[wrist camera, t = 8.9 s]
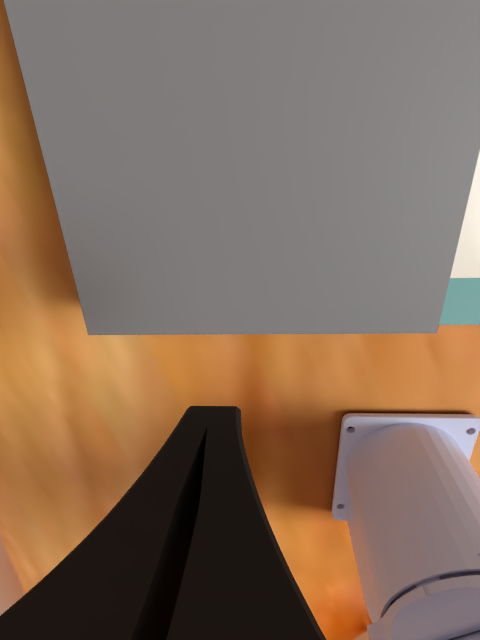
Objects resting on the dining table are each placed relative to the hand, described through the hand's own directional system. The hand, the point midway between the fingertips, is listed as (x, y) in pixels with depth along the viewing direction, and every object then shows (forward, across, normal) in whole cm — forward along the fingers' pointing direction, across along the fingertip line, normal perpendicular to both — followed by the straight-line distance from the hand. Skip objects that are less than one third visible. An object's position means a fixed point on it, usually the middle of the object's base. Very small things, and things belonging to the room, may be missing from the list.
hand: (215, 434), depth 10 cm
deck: (+10, -1, -6) cm, 12 cm away
